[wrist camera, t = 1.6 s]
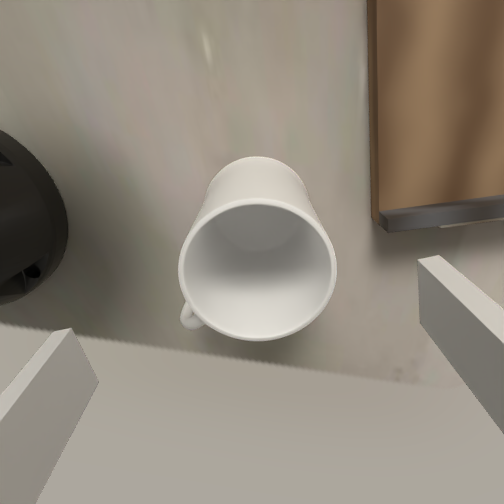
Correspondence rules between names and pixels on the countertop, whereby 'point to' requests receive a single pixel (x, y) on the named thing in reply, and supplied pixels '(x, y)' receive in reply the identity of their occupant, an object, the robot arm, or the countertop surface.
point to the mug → (256, 255)
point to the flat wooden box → (436, 112)
